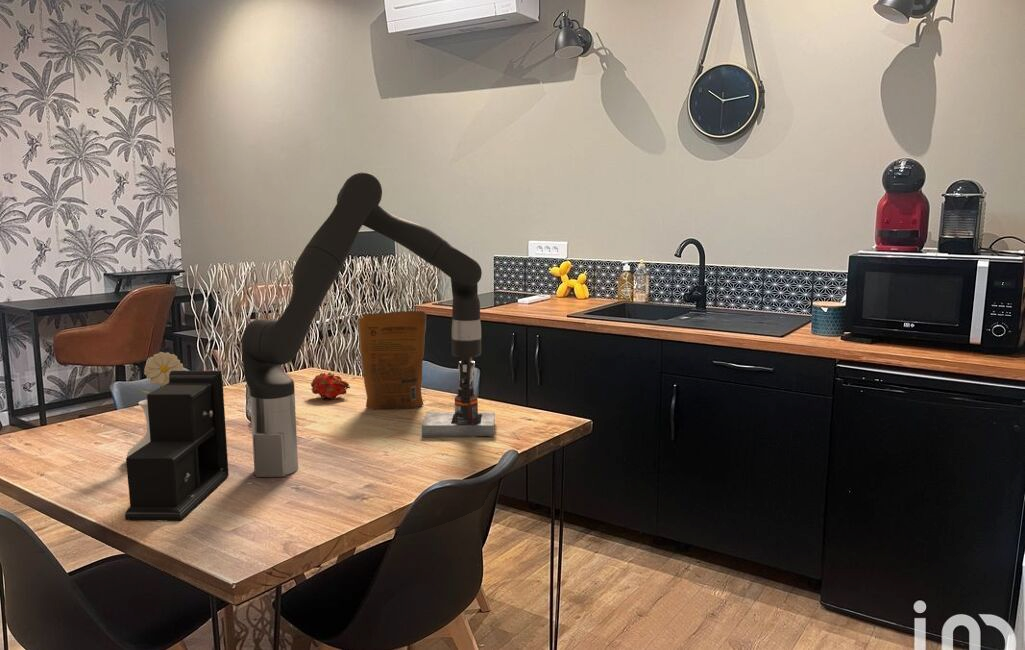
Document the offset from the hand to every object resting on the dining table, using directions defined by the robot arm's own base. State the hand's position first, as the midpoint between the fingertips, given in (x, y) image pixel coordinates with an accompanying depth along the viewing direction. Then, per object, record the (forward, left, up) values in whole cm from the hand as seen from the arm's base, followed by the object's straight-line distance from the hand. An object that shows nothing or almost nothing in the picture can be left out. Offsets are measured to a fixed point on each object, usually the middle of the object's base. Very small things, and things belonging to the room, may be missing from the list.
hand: (466, 399), depth 195 cm
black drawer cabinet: (-45, +54, -9) cm, 71 cm away
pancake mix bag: (+22, +22, -9) cm, 33 cm away
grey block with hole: (0, +2, -8) cm, 9 cm away
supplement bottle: (0, 0, -9) cm, 9 cm away
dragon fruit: (+33, +43, -9) cm, 55 cm away
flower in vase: (-23, +69, -9) cm, 73 cm away
